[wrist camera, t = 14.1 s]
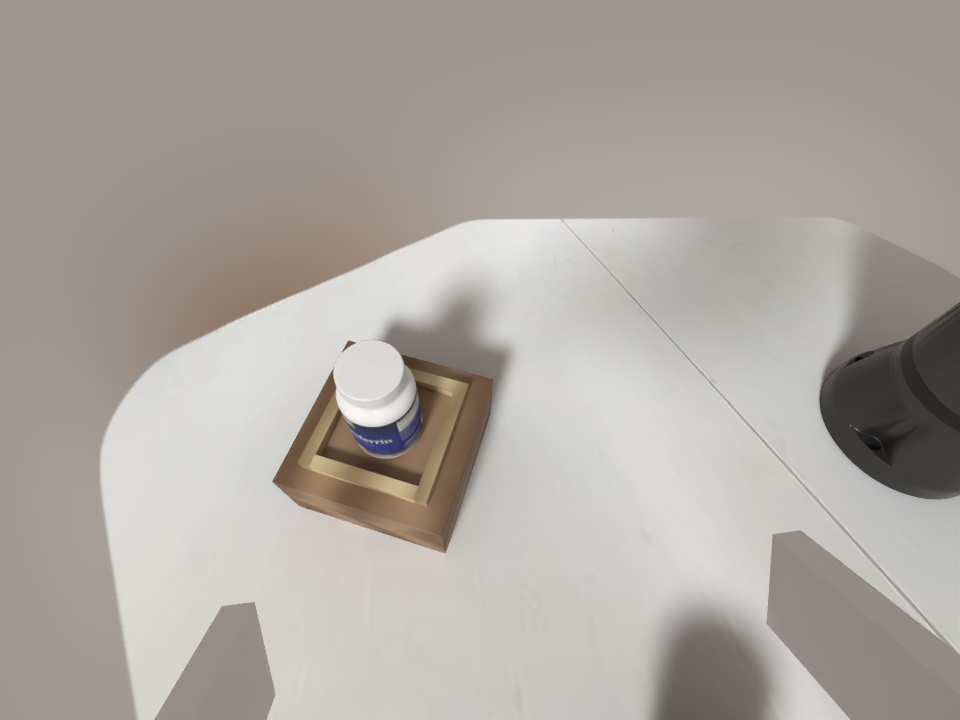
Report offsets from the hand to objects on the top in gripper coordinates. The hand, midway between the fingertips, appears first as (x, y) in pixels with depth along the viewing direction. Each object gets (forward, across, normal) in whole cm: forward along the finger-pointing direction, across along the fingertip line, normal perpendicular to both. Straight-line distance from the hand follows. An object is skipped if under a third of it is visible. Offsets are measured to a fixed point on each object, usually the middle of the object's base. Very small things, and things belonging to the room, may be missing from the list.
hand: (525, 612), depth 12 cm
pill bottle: (+28, -7, -5) cm, 30 cm away
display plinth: (+33, -7, -10) cm, 36 cm away
